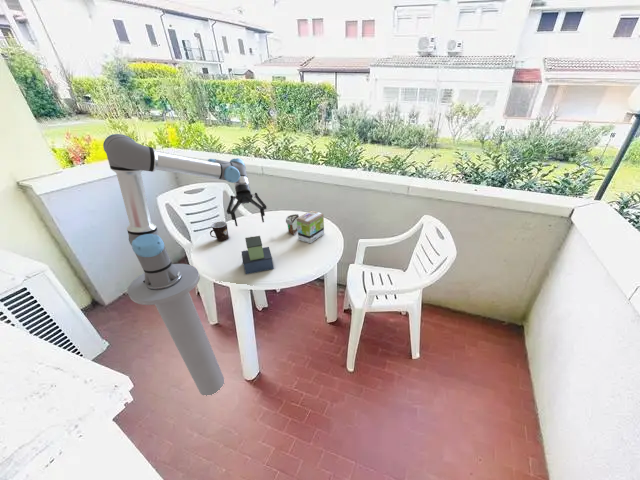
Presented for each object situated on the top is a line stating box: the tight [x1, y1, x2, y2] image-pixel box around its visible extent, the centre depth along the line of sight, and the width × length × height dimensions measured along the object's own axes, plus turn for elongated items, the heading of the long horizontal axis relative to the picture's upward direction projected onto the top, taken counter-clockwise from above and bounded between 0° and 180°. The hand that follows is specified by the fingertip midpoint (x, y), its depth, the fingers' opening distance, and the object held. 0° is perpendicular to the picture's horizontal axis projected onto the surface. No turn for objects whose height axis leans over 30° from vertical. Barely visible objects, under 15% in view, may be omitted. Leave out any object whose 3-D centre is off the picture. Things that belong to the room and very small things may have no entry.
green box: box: [245, 235, 264, 261], centre depth 146 cm, size 7×10×8 cm
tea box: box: [297, 210, 325, 244], centre depth 176 cm, size 15×10×15 cm, turn 151°
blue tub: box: [240, 246, 274, 275], centre depth 150 cm, size 14×12×7 cm
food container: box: [285, 213, 300, 236], centre depth 183 cm, size 12×6×10 cm, turn 168°
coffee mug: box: [209, 221, 230, 242], centre depth 173 cm, size 12×9×10 cm
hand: (250, 223), depth 149 cm, fingers open, 13 cm apart
